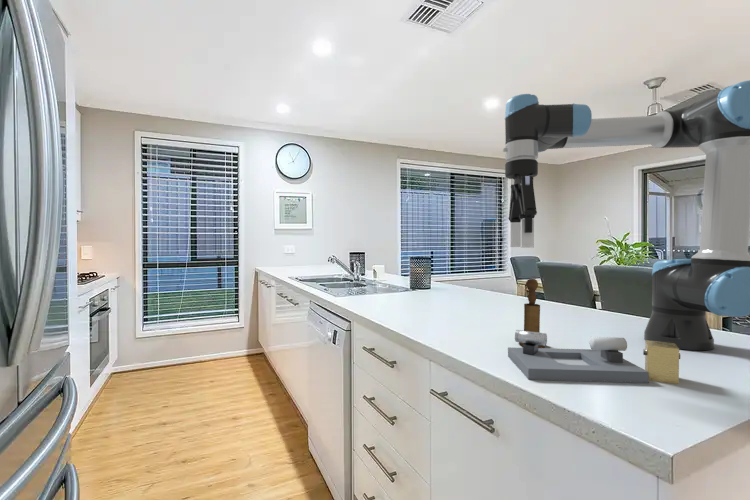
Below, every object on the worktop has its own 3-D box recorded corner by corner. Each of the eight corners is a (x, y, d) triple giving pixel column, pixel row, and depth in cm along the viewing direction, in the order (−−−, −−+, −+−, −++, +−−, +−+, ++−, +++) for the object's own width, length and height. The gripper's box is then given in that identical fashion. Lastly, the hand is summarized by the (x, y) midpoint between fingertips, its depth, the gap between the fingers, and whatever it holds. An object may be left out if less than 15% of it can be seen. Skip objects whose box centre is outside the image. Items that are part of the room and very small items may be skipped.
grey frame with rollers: (606, 358, 92) (607, 329, 92) (648, 383, 76) (649, 347, 76) (507, 356, 94) (508, 327, 94) (528, 379, 78) (528, 344, 78)
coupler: (677, 377, 79) (677, 343, 79) (681, 385, 75) (682, 349, 75) (642, 372, 82) (642, 339, 82) (644, 379, 78) (644, 345, 78)
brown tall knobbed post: (547, 349, 100) (547, 280, 100) (520, 348, 101) (521, 279, 101) (541, 343, 107) (542, 278, 106) (516, 341, 108) (517, 277, 108)
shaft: (547, 352, 90) (547, 331, 89) (543, 356, 86) (543, 335, 86) (518, 347, 93) (518, 328, 93) (513, 352, 90) (513, 331, 90)
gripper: (497, 171, 108) (497, 246, 108) (515, 149, 83) (514, 247, 83) (526, 170, 106) (525, 246, 107) (552, 147, 82) (551, 247, 82)
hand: (521, 247), depth 95 cm, fingers open, 13 cm apart
